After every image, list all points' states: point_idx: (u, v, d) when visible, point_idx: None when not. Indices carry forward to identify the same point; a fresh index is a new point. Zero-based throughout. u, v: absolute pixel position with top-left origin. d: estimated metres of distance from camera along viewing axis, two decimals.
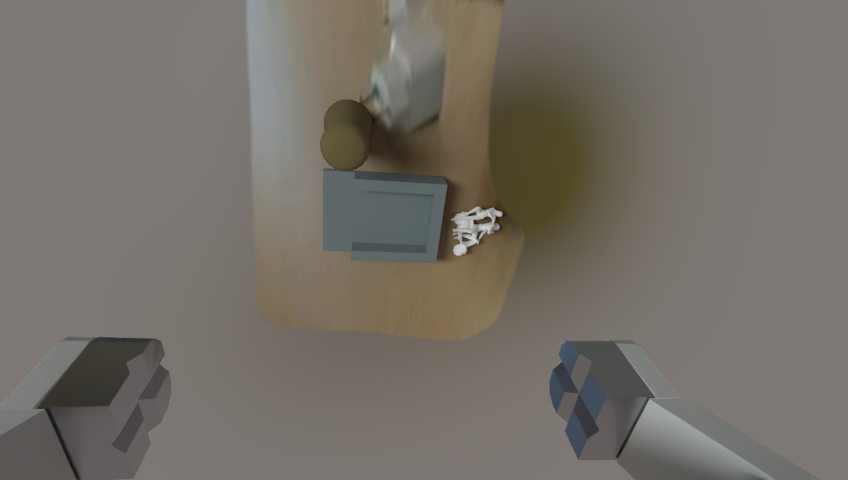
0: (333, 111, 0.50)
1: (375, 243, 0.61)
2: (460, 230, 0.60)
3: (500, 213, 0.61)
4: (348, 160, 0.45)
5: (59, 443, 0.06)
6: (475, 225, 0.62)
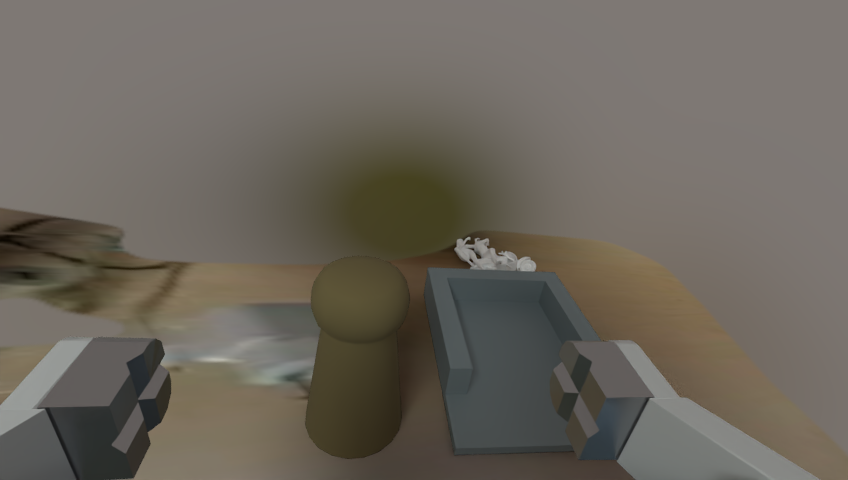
0: (318, 408, 0.24)
1: None
2: (495, 258, 0.42)
3: (458, 240, 0.48)
4: (381, 267, 0.23)
5: (59, 443, 0.06)
6: (484, 256, 0.45)
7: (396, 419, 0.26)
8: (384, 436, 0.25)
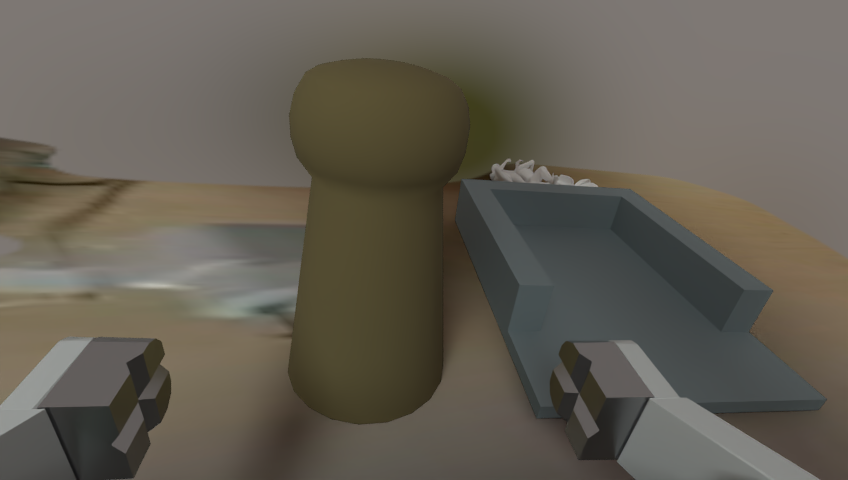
0: (308, 336, 0.14)
1: (677, 287, 0.23)
2: (549, 176, 0.33)
3: (493, 165, 0.38)
4: (418, 66, 0.12)
5: (59, 443, 0.06)
6: (530, 180, 0.35)
7: (438, 360, 0.16)
8: (420, 387, 0.15)
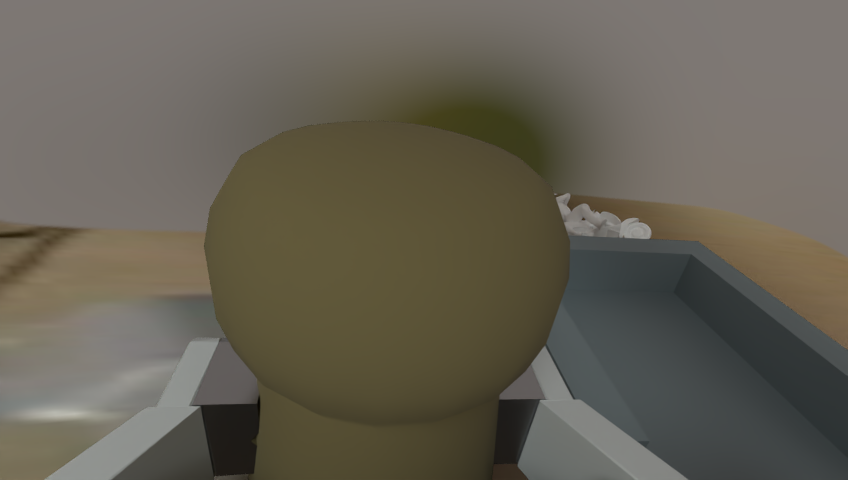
0: None
1: (787, 396, 0.17)
2: (594, 218, 0.27)
3: None
4: (465, 138, 0.06)
5: (207, 439, 0.07)
6: (567, 218, 0.29)
7: None
8: None
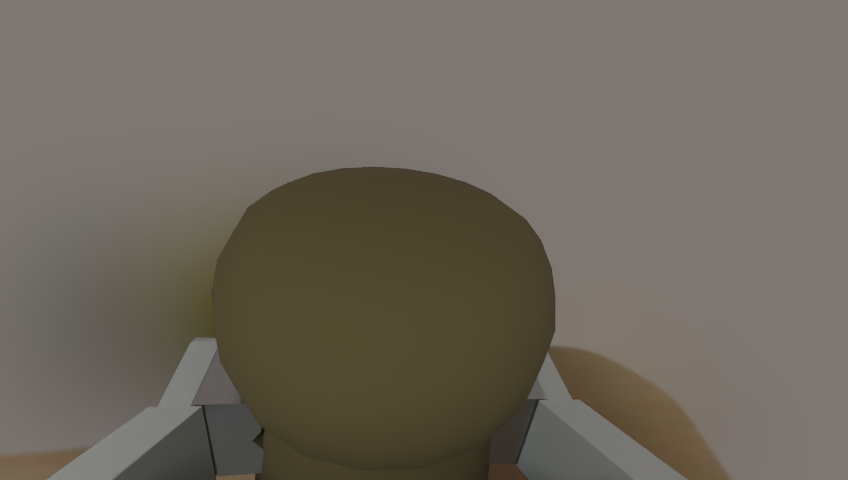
0: None
1: None
2: None
3: None
4: (458, 191, 0.07)
5: (208, 439, 0.07)
6: None
7: None
8: None
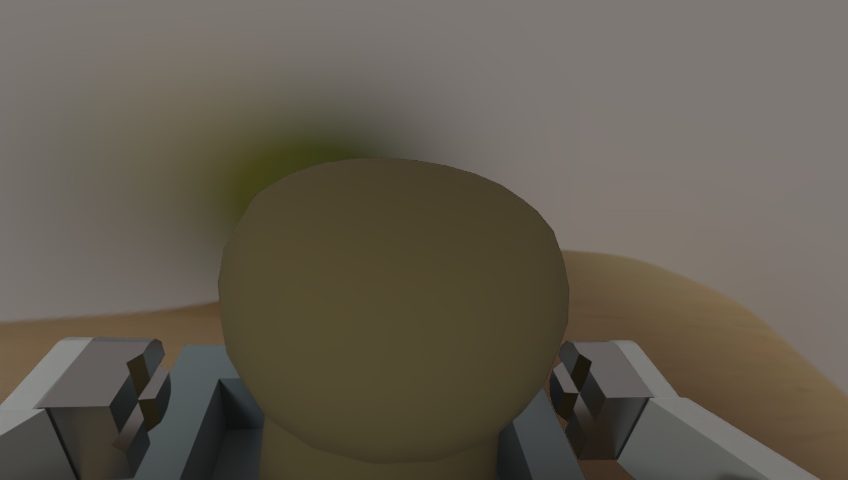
0: None
1: None
2: None
3: None
4: (470, 181, 0.07)
5: (59, 443, 0.06)
6: None
7: None
8: None
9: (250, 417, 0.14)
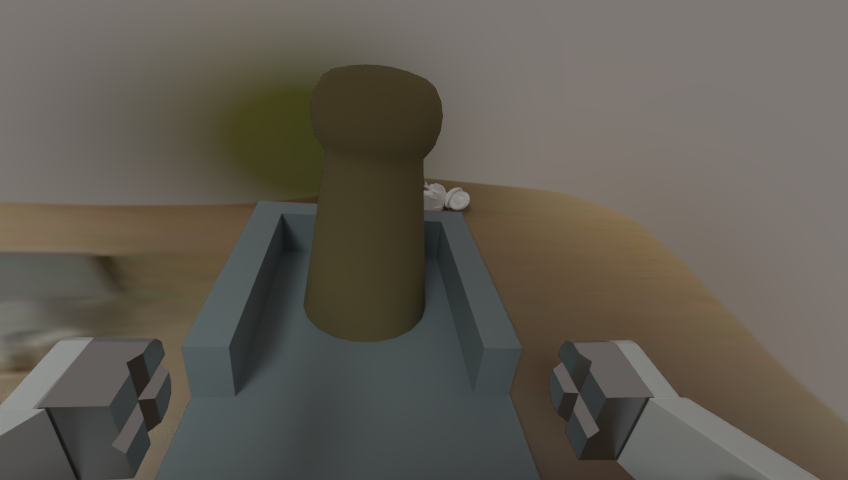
0: (319, 272, 0.19)
1: (457, 334, 0.20)
2: None
3: None
4: None
5: (59, 443, 0.06)
6: None
7: (419, 300, 0.20)
8: (403, 318, 0.19)
9: (297, 242, 0.25)
